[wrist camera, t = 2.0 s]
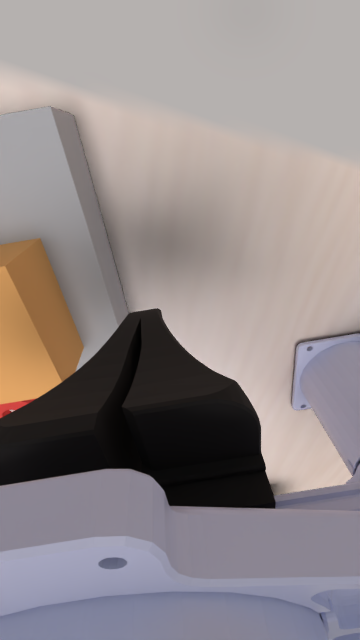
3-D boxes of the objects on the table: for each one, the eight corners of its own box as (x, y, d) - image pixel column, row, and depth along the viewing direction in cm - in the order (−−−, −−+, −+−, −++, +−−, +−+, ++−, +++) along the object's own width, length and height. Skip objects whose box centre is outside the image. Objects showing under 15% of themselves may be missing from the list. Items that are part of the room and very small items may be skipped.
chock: (40, 237, 15) (4, 266, 11) (84, 347, 18) (67, 393, 15) (-57, 254, 15) (-120, 287, 11) (6, 359, 18) (-28, 408, 15)
